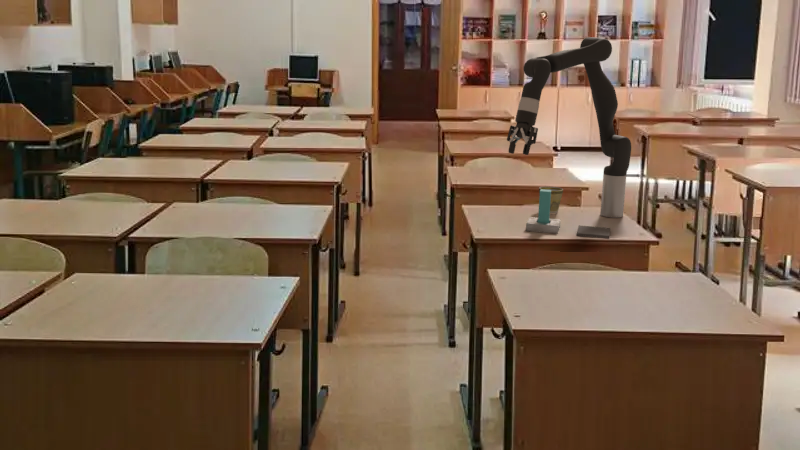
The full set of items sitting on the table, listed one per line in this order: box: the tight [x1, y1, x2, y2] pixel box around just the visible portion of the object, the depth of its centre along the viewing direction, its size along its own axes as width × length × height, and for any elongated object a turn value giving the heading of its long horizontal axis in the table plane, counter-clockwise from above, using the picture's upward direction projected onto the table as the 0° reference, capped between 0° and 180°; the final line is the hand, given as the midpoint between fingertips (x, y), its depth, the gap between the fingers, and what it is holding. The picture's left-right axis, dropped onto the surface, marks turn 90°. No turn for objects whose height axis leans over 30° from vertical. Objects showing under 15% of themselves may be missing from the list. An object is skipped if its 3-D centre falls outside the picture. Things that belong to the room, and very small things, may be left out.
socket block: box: [525, 216, 562, 234], centre depth 358 cm, size 12×12×3 cm
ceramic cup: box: [538, 185, 564, 214], centre depth 390 cm, size 13×10×10 cm
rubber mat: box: [576, 225, 611, 239], centre depth 354 cm, size 14×12×1 cm
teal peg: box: [537, 189, 551, 223], centre depth 356 cm, size 4×4×15 cm
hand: (518, 153), depth 348 cm, fingers open, 8 cm apart
